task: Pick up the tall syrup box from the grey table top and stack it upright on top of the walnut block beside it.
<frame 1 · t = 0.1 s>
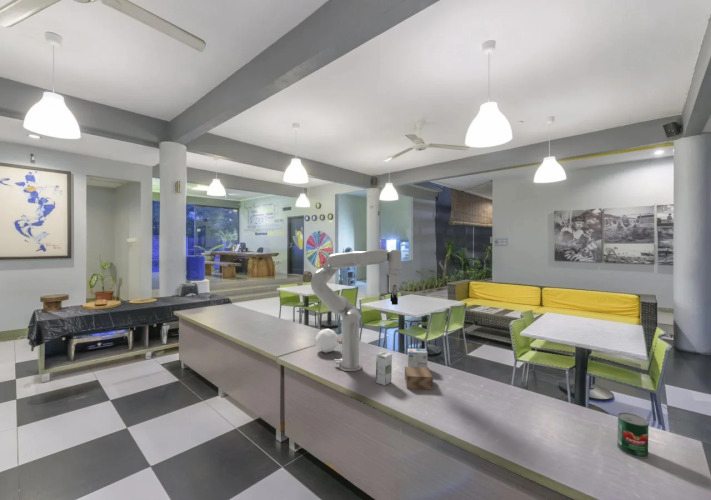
hand: (393, 302, 178), 37 cm above the table, fingers open, 9 cm apart
syrup box: (383, 383, 160), on the table
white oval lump: (329, 352, 205), on the table
light bulb box: (417, 369, 177), on the table
walnut block: (418, 383, 159), on the table
canned tomato: (632, 451, 108), on the table
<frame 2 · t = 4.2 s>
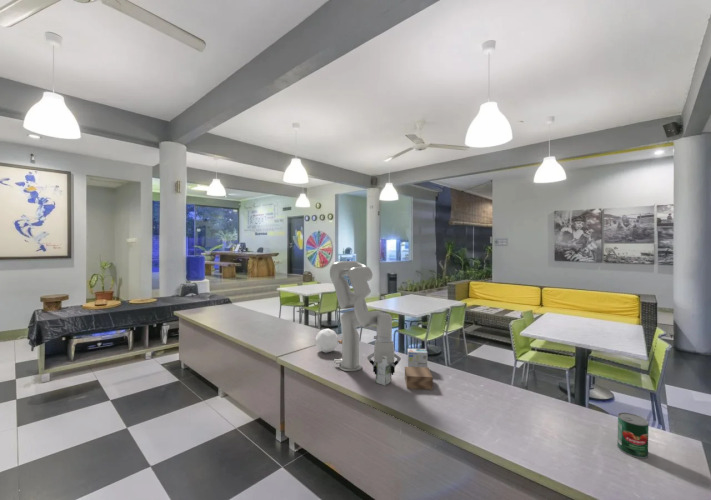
hand: (383, 373, 160), 5 cm above the table, fingers closed on syrup box, 8 cm apart
syrup box: (383, 383, 160), on the table, touching gripper
everything else where it was.
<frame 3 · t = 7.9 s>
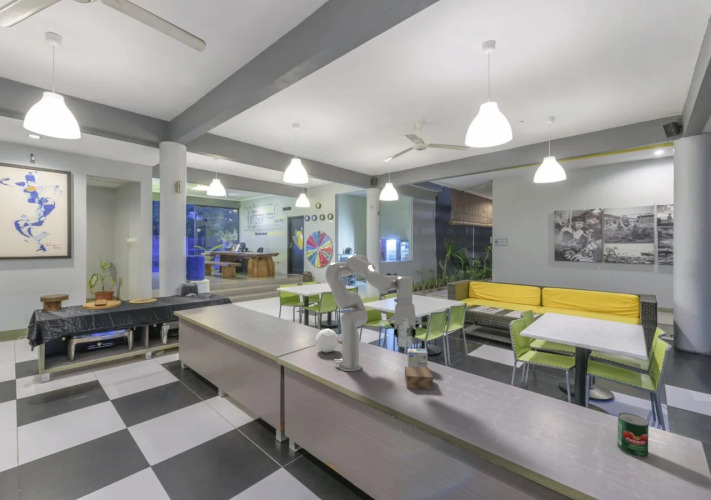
hand: (404, 336, 159), 23 cm above the table, fingers closed on syrup box, 8 cm apart
syrup box: (404, 346, 159), point 19 cm above the table, touching gripper
everything else where it was.
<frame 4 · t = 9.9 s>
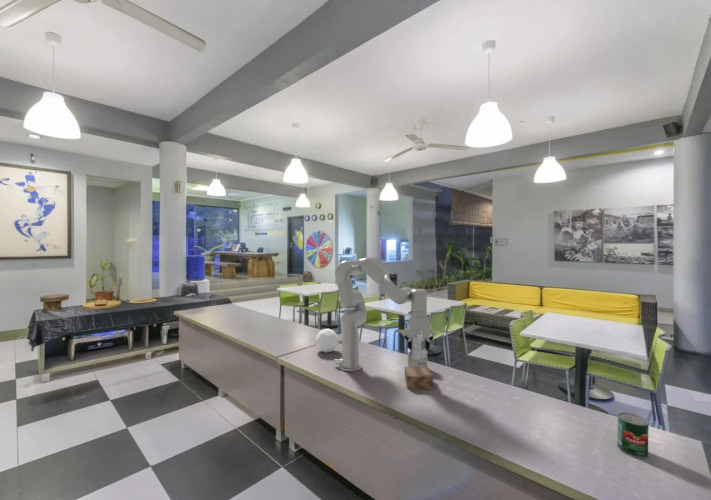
hand: (418, 349, 159), 17 cm above the table, fingers closed on syrup box, 8 cm apart
syrup box: (418, 358, 159), point 12 cm above the table, touching gripper
everything else where it was.
when the fingers open (12 cm above the table, at t = 11.6 s): syrup box drops 2 cm, resting on walnut block.
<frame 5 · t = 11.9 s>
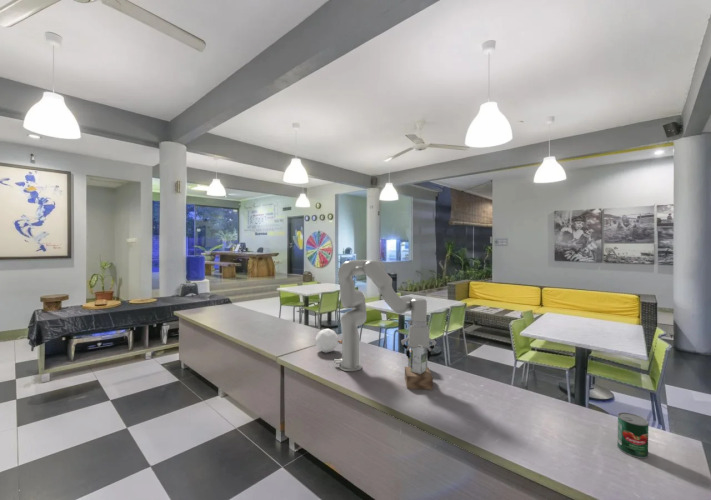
hand: (418, 358, 159), 13 cm above the table, fingers open, 9 cm apart
syrup box: (418, 371, 159), point 6 cm above the table, touching walnut block
everything else where it was.
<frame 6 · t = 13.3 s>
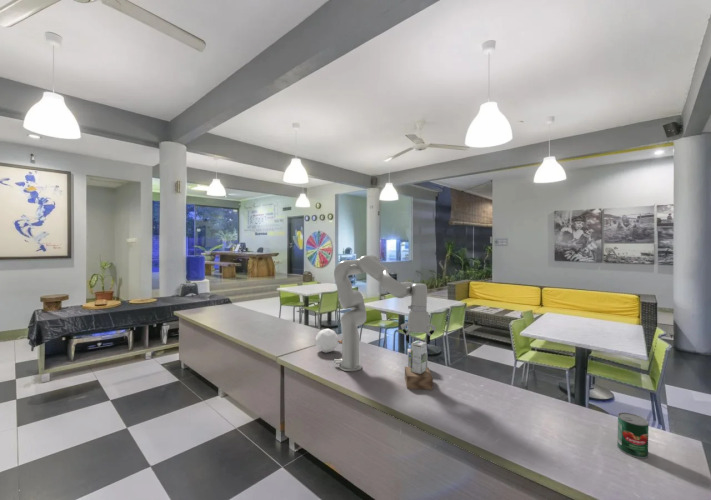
hand: (417, 342, 159), 20 cm above the table, fingers open, 9 cm apart
nothing on the table moved.
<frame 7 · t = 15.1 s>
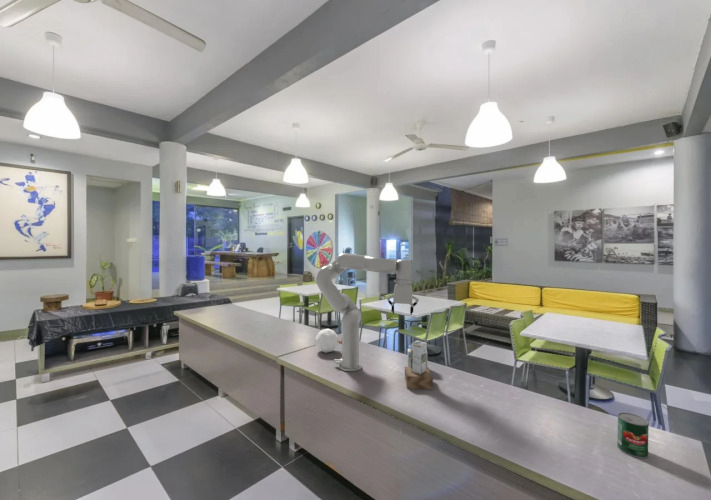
hand: (402, 313, 175), 31 cm above the table, fingers open, 9 cm apart
nothing on the table moved.
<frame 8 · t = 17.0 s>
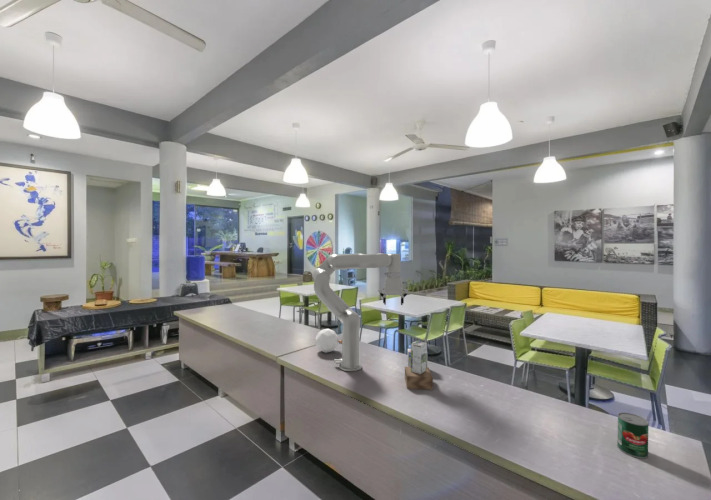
hand: (393, 304, 186), 34 cm above the table, fingers open, 9 cm apart
nothing on the table moved.
at the end: syrup box inside the target area on the walnut block (0.3 cm from its centre), point 5.8 cm above the walnut block's base; syrup box tilted 0°; the gripper is holding nothing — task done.
